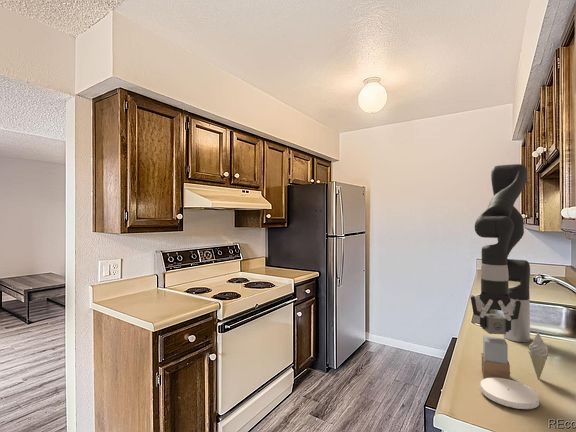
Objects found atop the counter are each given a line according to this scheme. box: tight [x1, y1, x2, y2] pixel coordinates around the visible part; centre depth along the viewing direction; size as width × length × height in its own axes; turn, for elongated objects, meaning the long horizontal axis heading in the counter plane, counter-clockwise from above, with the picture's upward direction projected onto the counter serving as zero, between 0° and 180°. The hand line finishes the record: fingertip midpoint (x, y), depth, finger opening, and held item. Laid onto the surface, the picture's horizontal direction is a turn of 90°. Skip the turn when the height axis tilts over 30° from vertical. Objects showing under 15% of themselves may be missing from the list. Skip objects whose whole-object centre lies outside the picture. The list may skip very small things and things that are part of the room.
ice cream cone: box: [528, 331, 549, 380], centre depth 104 cm, size 5×5×15 cm
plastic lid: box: [479, 377, 540, 410], centre depth 93 cm, size 14×14×2 cm
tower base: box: [481, 352, 511, 380], centre depth 105 cm, size 7×7×6 cm
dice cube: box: [483, 313, 506, 335], centre depth 106 cm, size 5×5×5 cm
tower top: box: [482, 335, 509, 364], centre depth 105 cm, size 6×6×6 cm
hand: (494, 329), depth 105 cm, fingers closed on dice cube, 6 cm apart
